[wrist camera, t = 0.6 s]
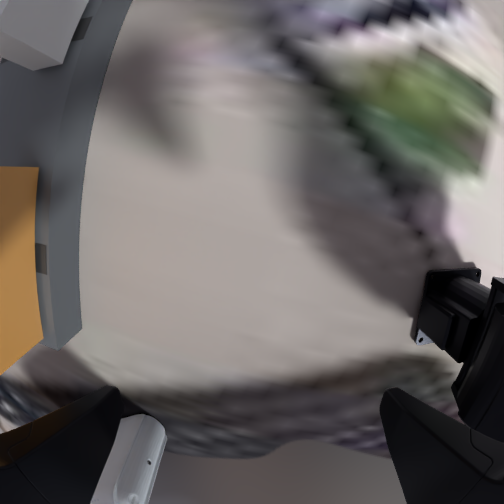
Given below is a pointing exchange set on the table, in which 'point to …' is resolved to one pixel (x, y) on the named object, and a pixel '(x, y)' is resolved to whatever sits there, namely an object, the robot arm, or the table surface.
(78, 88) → the switch box
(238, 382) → the table surface
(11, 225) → the orange slider
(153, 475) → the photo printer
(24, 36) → the white slider
